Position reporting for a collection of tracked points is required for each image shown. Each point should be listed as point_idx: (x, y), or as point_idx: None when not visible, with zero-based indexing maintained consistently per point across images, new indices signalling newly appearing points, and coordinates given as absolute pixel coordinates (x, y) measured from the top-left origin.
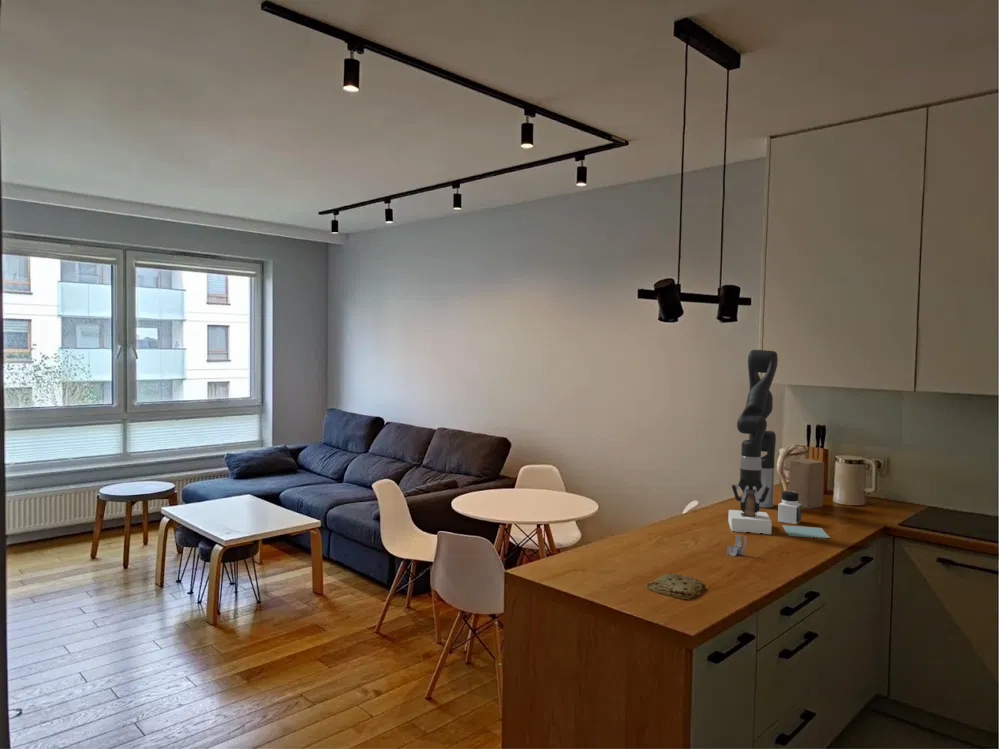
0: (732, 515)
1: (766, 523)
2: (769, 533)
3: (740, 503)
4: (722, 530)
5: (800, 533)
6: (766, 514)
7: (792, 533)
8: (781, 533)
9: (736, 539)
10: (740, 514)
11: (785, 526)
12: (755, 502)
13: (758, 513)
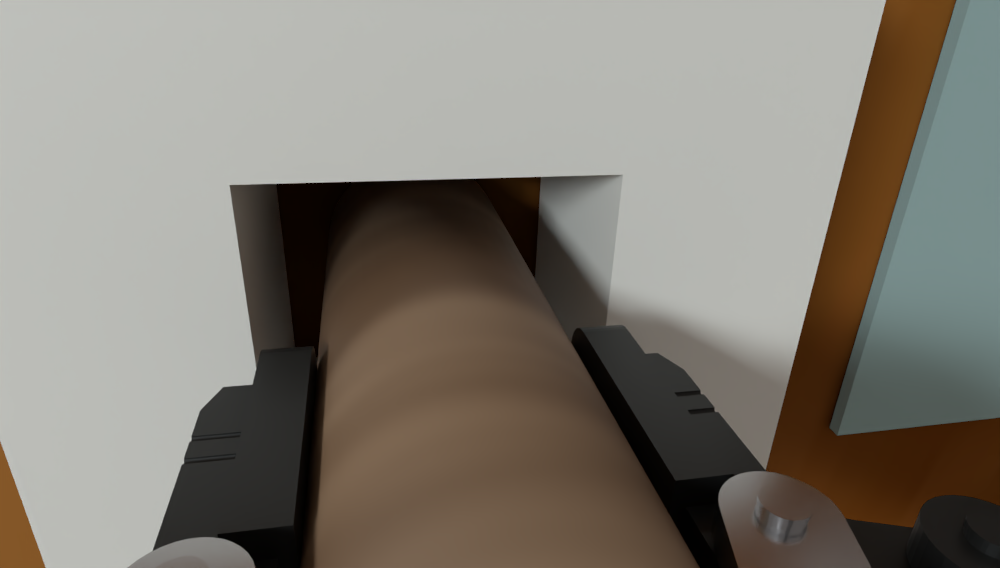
0: (63, 500)
1: None
2: None
3: (165, 523)
4: (12, 499)
5: (992, 341)
6: (822, 158)
7: (901, 375)
8: None
9: None
10: (238, 358)
11: (993, 20)
12: (687, 499)
13: (674, 115)
